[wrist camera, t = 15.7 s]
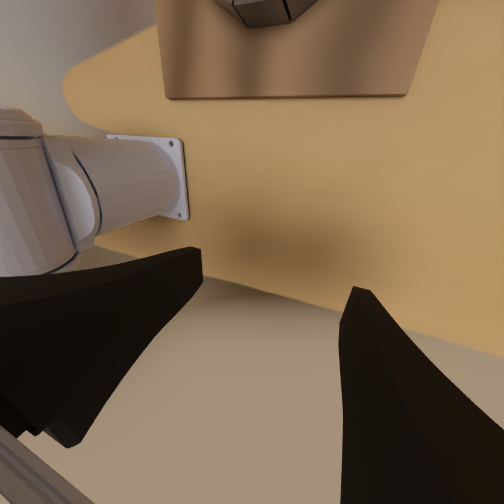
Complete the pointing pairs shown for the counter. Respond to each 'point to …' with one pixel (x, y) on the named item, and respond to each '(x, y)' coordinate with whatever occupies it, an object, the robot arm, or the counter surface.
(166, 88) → the walnut mat
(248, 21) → the collar
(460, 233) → the counter surface
